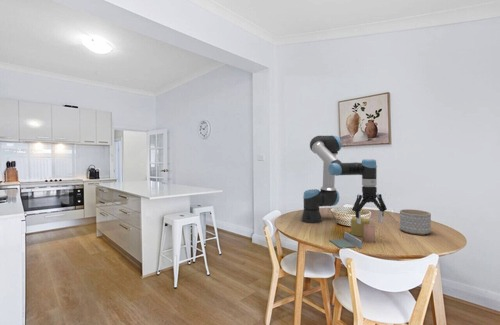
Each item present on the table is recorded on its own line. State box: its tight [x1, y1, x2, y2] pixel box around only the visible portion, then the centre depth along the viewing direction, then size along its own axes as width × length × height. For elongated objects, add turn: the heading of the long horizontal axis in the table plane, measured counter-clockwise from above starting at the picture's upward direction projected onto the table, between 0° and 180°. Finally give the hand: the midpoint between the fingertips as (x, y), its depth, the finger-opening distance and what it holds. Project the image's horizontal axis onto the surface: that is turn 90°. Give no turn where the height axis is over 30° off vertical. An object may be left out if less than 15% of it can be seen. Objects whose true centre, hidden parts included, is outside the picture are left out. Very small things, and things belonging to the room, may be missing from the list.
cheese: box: [350, 215, 370, 238], centre depth 153 cm, size 10×11×10 cm
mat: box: [329, 238, 357, 249], centre depth 136 cm, size 12×9×1 cm
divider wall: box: [343, 231, 363, 249], centre depth 137 cm, size 16×1×4 cm, turn 9°
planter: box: [399, 208, 432, 236], centre depth 156 cm, size 16×16×13 cm
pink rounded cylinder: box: [362, 223, 376, 244], centre depth 140 cm, size 6×6×9 cm
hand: (369, 222), depth 140 cm, fingers open, 13 cm apart
